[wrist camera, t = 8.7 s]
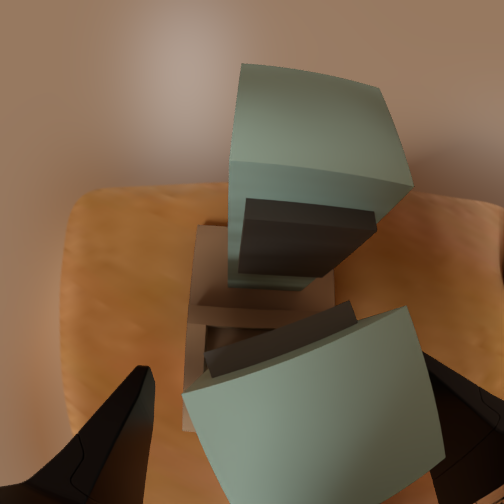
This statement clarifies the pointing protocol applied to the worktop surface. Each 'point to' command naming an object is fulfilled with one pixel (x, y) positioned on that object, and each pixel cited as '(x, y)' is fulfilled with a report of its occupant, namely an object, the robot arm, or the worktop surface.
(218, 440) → the block
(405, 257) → the worktop surface
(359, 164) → the green block with base
